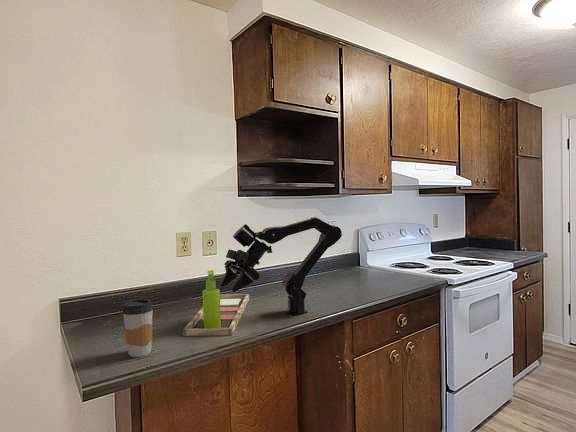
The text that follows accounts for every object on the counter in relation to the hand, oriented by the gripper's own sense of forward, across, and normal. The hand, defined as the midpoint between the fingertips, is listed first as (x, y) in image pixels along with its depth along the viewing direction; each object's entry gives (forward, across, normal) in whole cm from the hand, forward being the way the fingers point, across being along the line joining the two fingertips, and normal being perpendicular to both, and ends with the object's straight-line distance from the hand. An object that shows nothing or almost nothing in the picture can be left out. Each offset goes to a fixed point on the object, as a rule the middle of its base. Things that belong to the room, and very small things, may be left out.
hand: (226, 288), depth 128 cm
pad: (+1, -25, +17) cm, 30 cm away
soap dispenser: (+13, 0, +5) cm, 14 cm away
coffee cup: (+31, +7, -13) cm, 34 cm away
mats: (+7, -12, +11) cm, 18 cm away
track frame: (+7, -12, +11) cm, 18 cm away
